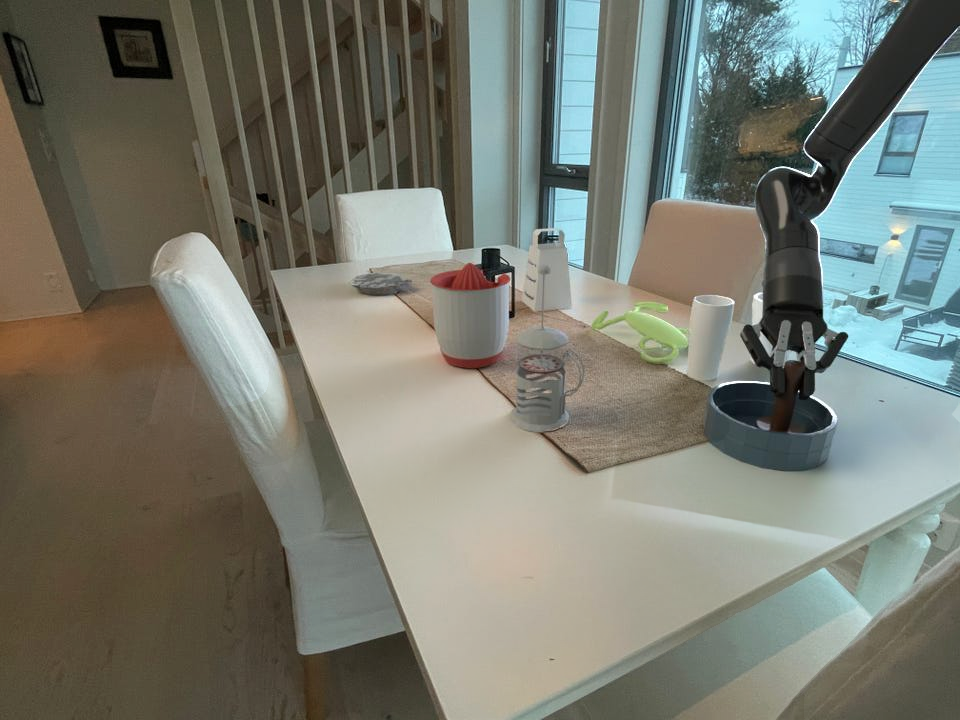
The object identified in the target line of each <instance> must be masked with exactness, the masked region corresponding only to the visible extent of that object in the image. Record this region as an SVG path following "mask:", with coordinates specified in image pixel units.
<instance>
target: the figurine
mask: <svg viewBox="0 0 960 720" xmlns="http://www.w3.org/2000/svg"><path fill="white" fill-rule="evenodd" d="M641 311H653V312H656V313H661V314H666V313H667V312H668V311H669V307H668V305H667V304H665V303H662V302H652V301H636V302H635V303H634V308H633V309H632V311H631V310H630V311H629V310H628V311H626V312H624V313H623V315H619V316H617V317H613V318H611V319H608V320H606V321H605V319H607V317H608V316H609V311H608V310H604V311H603V312H601V314H599V315H598V316H597V317H596V318H595V319H594V320H593V322H592V324H591V325H590V330H591V331H595V330H599V331H600V330H603V329H605V328H607V327H609V326H612V325H615V324H618V323H620V322H623V321H625V322H626V323H627V325H628V326H630V328H631V329H633V330H634V331H636V333H638V334H640V335H642V336H643V337H642V338H641V339H639V342H638V347H639V348H640V350H639V354H640V356H641V359H643V360H644V361H646V362H648V363H650V364H654V365H661V364H666V363H670V362H672V361H673V360H674V359H676V358H677V357H678V356H679V355H680V349H685V348H687V347H689V339H688V338H687V336H686V335H689V328H676V327H675V326H674V325H672V324H671V323H669V322H667V321H665V320H663V319H661V318H659V317H656V316H654V315H651V314H649V313H645V312H641ZM649 340H651V341H653V342H656V343H658V344H660V345H661V346H655V347H652V346H651V347H647V346H646V343H647V342H648V341H649ZM670 349H672V352H671V353H670V354H669V355H667V356H664V357H651V356H649V355H646V354H645V352H644V351H653V350H662V351H663V352H667V351H669V350H670ZM643 350H644V351H643Z"/></svg>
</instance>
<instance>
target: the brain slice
mask: <svg viewBox="0 0 960 720" xmlns="http://www.w3.org/2000/svg"><path fill="white" fill-rule="evenodd" d="M412 281H413V280H412V279H409V278H406V277H405V276H404V275H402V274H397V273H386V272H378V271H375V272H370V273H365V274H360V275H357V276H355V277H353V278H352V279H351V280H350V282H349V284H350V286H351V287H353V288H356V290H357V291H359V292H360V293H361V294H365V295H368V296H369V295H370V296H390V295H396V294H398V293H397V292H400V293H403V292H402V291H404V292H405V291H407V290H408V289H409V288H410V287H411V286H412Z"/></svg>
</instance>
